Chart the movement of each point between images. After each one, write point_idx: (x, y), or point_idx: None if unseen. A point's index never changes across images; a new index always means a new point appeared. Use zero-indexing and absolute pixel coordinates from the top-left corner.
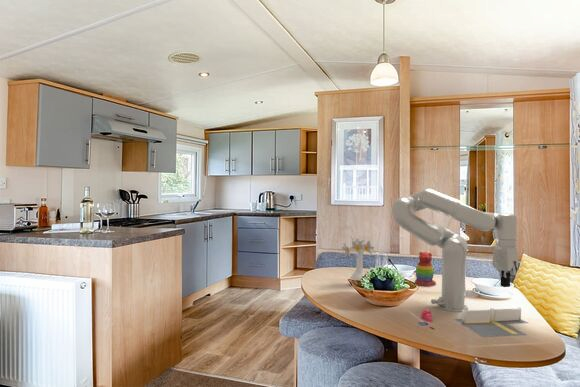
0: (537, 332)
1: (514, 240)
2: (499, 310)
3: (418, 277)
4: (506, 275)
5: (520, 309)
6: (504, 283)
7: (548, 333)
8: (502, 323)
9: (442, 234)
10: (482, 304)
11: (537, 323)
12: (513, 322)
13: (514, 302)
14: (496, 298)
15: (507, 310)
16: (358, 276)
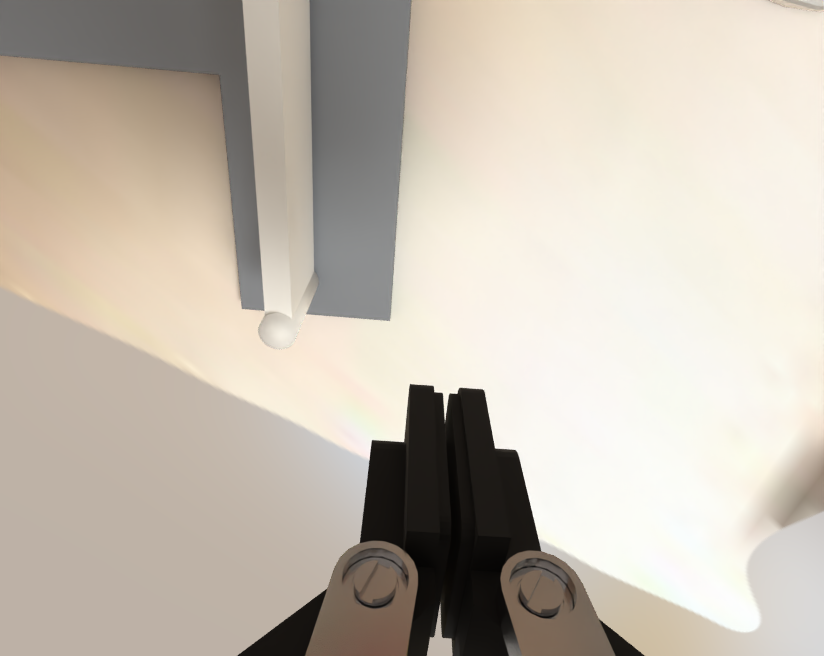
0: (68, 231)
1: None
2: (249, 51)
3: None
4: (322, 624)
5: (261, 328)
6: (405, 444)
7: (59, 298)
8: (229, 39)
9: None
10: (778, 302)
11: (265, 381)
12: (253, 185)
13: (681, 550)
14: (814, 509)
15: (257, 173)
16: None
